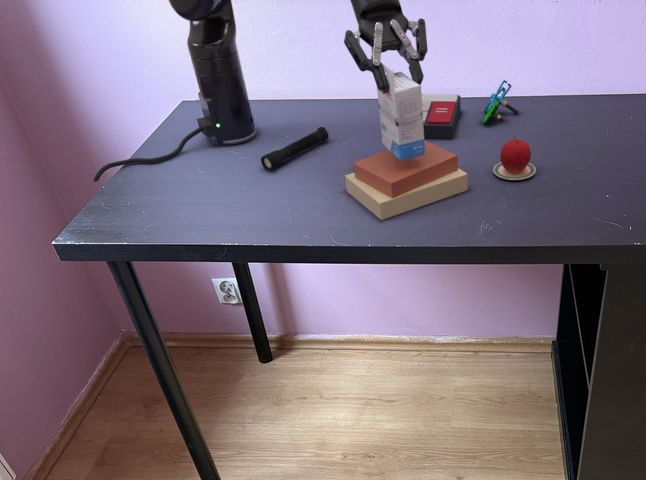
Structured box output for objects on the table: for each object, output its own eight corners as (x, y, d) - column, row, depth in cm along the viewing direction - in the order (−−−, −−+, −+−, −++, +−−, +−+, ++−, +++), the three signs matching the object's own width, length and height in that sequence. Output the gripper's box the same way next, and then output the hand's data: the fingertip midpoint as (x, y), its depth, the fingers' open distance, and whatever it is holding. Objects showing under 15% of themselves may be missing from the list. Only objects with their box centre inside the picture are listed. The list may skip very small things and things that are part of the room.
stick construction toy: (487, 94, 148) (505, 70, 142) (512, 112, 150) (532, 89, 144) (472, 129, 142) (491, 106, 136) (498, 147, 144) (518, 125, 138)
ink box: (426, 154, 113) (421, 66, 103) (400, 161, 111) (392, 72, 101) (406, 137, 119) (400, 51, 109) (381, 143, 117) (372, 57, 107)
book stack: (381, 220, 112) (377, 188, 108) (346, 191, 121) (342, 160, 117) (467, 190, 119) (467, 158, 115) (428, 164, 128) (427, 134, 124)
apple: (506, 159, 128) (507, 126, 124) (543, 169, 124) (545, 135, 120) (484, 175, 123) (485, 142, 119) (522, 186, 120) (523, 151, 115)
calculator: (399, 121, 135) (411, 90, 146) (400, 140, 138) (412, 109, 149) (452, 122, 134) (460, 91, 144) (452, 141, 137) (460, 110, 147)
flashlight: (262, 169, 129) (259, 154, 127) (319, 139, 139) (317, 125, 137) (273, 172, 128) (270, 157, 126) (330, 142, 138) (328, 127, 136)
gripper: (330, -20, 101) (363, 84, 101) (417, -32, 105) (449, 68, 105) (326, 10, 109) (357, 107, 108) (407, -3, 112) (437, 91, 112)
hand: (402, 87), depth 106 cm, fingers closed on ink box, 5 cm apart
